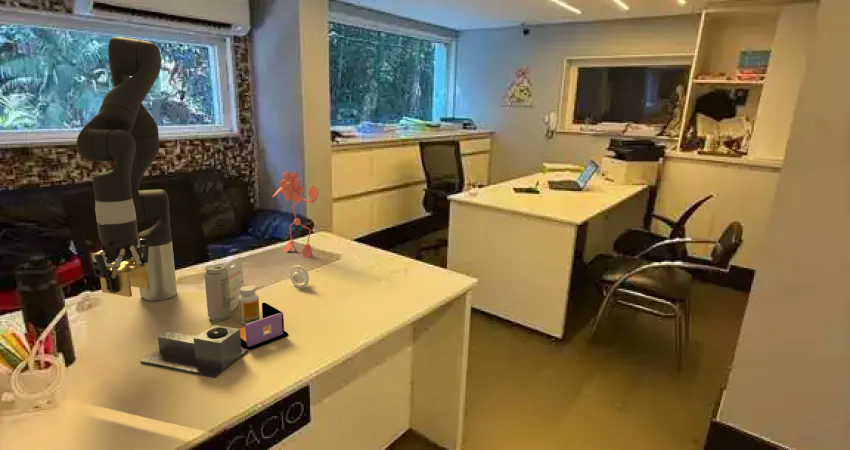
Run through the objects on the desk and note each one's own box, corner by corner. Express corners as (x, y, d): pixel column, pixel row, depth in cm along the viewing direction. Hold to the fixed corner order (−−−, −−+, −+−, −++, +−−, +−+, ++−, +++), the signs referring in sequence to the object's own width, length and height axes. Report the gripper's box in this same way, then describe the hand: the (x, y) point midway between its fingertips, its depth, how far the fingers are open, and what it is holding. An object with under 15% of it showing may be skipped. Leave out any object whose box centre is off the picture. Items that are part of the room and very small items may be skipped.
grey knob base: (140, 363, 106) (136, 332, 104) (179, 339, 118) (177, 311, 116) (214, 378, 102) (212, 346, 100) (248, 351, 113) (246, 323, 111)
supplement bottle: (263, 318, 131) (262, 286, 129) (251, 326, 126) (249, 293, 124) (248, 314, 133) (246, 283, 130) (235, 322, 128) (232, 289, 125)
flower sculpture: (284, 248, 195) (281, 166, 187) (329, 260, 182) (327, 172, 173) (254, 257, 183) (249, 169, 174) (299, 271, 169) (296, 176, 161)
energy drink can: (214, 312, 134) (210, 263, 130) (234, 313, 133) (231, 264, 130) (204, 321, 128) (199, 270, 124) (225, 322, 128) (221, 271, 124)
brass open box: (102, 292, 107) (98, 268, 106) (122, 283, 113) (119, 260, 111) (129, 297, 106) (126, 272, 104) (149, 288, 111) (146, 264, 109)
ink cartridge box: (230, 300, 142) (227, 254, 139) (245, 301, 141) (242, 256, 138) (213, 311, 134) (209, 263, 131) (229, 313, 133) (225, 265, 130)
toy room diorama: (290, 336, 122) (289, 312, 120) (247, 352, 113) (245, 327, 111) (266, 321, 129) (265, 299, 128) (224, 336, 121) (223, 312, 119)
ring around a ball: (286, 287, 154) (286, 264, 152) (298, 282, 159) (298, 260, 157) (305, 292, 150) (304, 269, 148) (316, 286, 155) (316, 264, 153)
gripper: (130, 210, 112) (138, 274, 117) (73, 224, 99) (84, 296, 103) (155, 213, 110) (162, 279, 115) (100, 227, 97) (111, 301, 101)
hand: (125, 286), depth 109 cm, fingers closed on brass open box, 5 cm apart
